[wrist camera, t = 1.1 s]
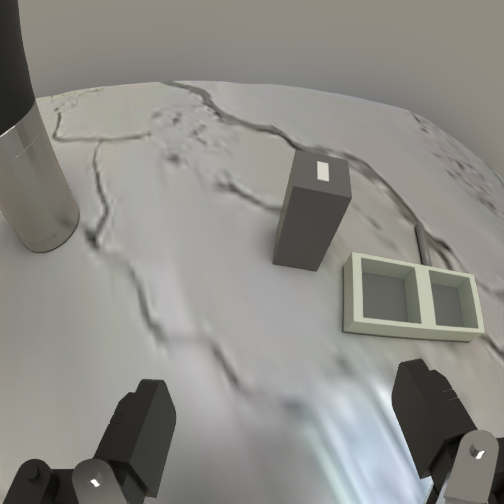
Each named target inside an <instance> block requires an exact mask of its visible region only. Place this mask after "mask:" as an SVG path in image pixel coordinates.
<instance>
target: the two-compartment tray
mask: <svg viewBox="0 0 504 504" xmlns="http://www.w3.org/2000/svg"><path fill="white" fill-rule="evenodd" d="M415 228H416V232H417V237H418V242H419V247H420V252H421V257H422V263H423V265H419V264H414V263H409V262H403V261H398V260H393V259H387V258H382V257H377V256H371V255H366V254H360V253H355V252H352V253H351V255H350V256H349V258H348V260H347V261H346V263H345V265H344V266H343V330H342V332H344V333H353V334H362V335H372V336H382V337H393V338H406V339H419V340H434V341H452V342H470V341H472V340H473V339H475V338H477V337H478V336H480V335H482V334H483V333H484V326H483V320H482V314H481V308H480V303H479V297H478V292H477V288H476V283H475V279H474V275H470V274H465V273H460V272H455V271H450V270H445V269H440V268H435V267H432V265H431V259H430V254H429V250H428V245H427V240H426V236H425V232H424V227H423V225H422V224H421V223H417V224H416V226H415Z"/></svg>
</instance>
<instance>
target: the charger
mask: <svg viewBox="0 0 504 504" xmlns="http://www.w3.org/2000/svg"><path fill="white" fill-rule="evenodd" d="M351 199H352V194H351V185H350V176H349V168H348V161H347V160H343V159H338V158H334V157H329V156H324V155H320V154H315V153H310V152H305V151H299V150H296V151H295V155H294V160H293V164H292V168H291V172H290V177H289V181H288V185H287V190H286V194H285V198H284V202H283V206H282V211H281V215H280V219H279V223H278V227H277V234H276V242H275V250H274V258H273V264H275V265H281V266H287V267H293V268H299V269H305V270H311V271H317V269H318V267H319V265H320V263H321V261H322V259H323V257H324V255H325V253H326V251H327V249H328V247H329V245H330V243H331V241H332V239H333V237H334V235H335V233H336V231H337V229H338V227H339V224H340V222H341V220H342V218H343V216H344V214H345V212H346V210H347V207H348V205H349V203H350V201H351Z"/></svg>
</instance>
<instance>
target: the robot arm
mask: <svg viewBox="0 0 504 504" xmlns="http://www.w3.org/2000/svg"><path fill="white" fill-rule="evenodd" d="M0 210H1V211H2V213H3V214H4V216H5V217H6V219H7V220H8V222H9V223H10V224H11V226H12V227H13V229H14V230H15V232H16V233H17V234H18V236H19V237H20V239H21V240H22V241H23V243H24V244H25V245H26V246H27V248H28V249H30V250H32V251H34V252H46V251H50V250H52V249H54V248H56V247H58V246H59V245H61V244H62V243H63V242H64V241H66V240H67V239H68V238H69V236H70V235H71V234H72V233H73V231H74V229H75V228H76V226H77V223H78V220H79V209H78V206H77V204H76V202H75V200H74V198H73V195H72V193H71V191H70V189H69V186H68V184H67V182H66V179H65V177H64V175H63V172H62V170H61V168H60V165H59V163H58V160H57V158H56V155H55V153H54V150H53V148H52V145H51V143H50V140H49V137H48V135H47V132H46V129H45V126H44V124H43V121H42V118H41V115H40V112H39V109H38V106H37V103H36V100H35V96H34V93H33V89H32V85H31V82H30V75H29V70H28V65H27V61H26V57H25V52H24V47H23V42H22V35H21V29H20V18H19V8H18V0H0ZM392 407H393V410H394V412H395V415H396V417H397V420H398V422H399V425H400V427H401V430H402V432H403V435H404V437H405V440H406V442H407V445H408V448H409V450H410V453H411V456H412V458H413V461H414V464H415V466H416V469H417V472H418V475H419V477H420V479H423V478H426V477H429V476H431V477H432V480H433V483H432V484H431V486H430V489H429V491H428V494H427V496H426V498H425V501H424V503H423V504H487V501H488V504H504V437H503V438H495V437H494V436H493V435H492V434H491V433H489V432H487V431H484V430H478V429H477V428H476V426H475V424H474V423H473V421H472V419H471V418H470V416H469V414H468V413H467V411H466V409H465V408H464V406H463V404H462V403H461V401H460V399H459V398H457V395H456V393H455V391H454V390H452V387H451V385H450V383H449V382H448V380H447V379H446V377H444V376H443V375H442V374H440V373H439V372H438V371H436V370H431V371H430V370H429V369H428V367H427V366H426V364H425V362H424V361H423V360H422V359H415V360H410V361H406V362H401V363H400V364H399V367H398V371H397V375H396V379H395V383H394V387H393V391H392ZM175 425H176V411H175V407H174V405H173V402H172V399H171V397H170V394H169V391H168V389H167V386H166V383H165V382H164V381H163V380H151V379H142V380H141V381H140V383H139V385H138V387H137V390H136V392H135V393H132V392H129V393H128V394H127V395H126V396H125V397H124V398H123V399H121V400H120V401H119V403H118V405H117V407H116V410H115V412H114V415H113V416H112V418H111V420H110V424H108V427H107V429H106V431H105V433H104V435H103V437H102V440H101V442H100V444H99V446H98V448H97V451H96V453H95V455H94V457H93V458H92V459H87V460H84V461H82V462H81V463H79V464H78V465H77V466H76V467H75V469H51V468H50V467H49V466H48V465H47V464H46V463H45V462H44V461H42V460H39V459H31V460H28V461H26V462H25V463H23V464H22V465H21V466H20V468H19V470H18V472H17V474H16V476H15V478H14V480H13V482H12V484H11V487H10V489H9V491H8V493H7V495H6V498H5V500H4V502H3V504H143V502H144V498H145V496H147V497H153V498H156V497H157V493H158V489H159V485H160V481H161V477H162V474H163V470H164V466H165V462H166V458H167V455H168V451H169V447H170V443H171V440H172V436H173V432H174V429H175Z"/></svg>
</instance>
